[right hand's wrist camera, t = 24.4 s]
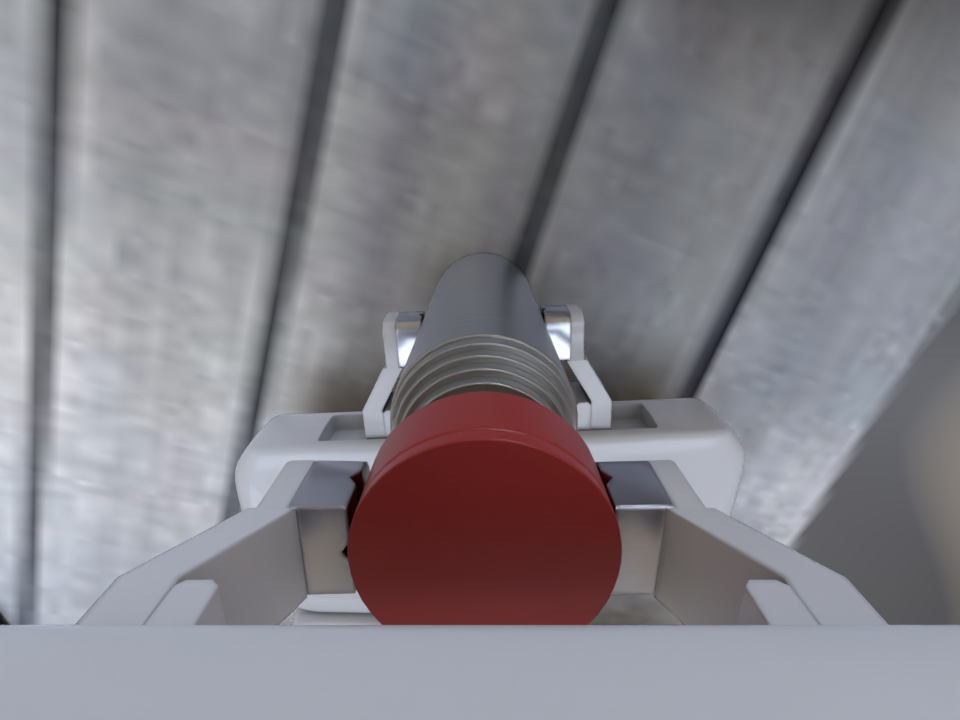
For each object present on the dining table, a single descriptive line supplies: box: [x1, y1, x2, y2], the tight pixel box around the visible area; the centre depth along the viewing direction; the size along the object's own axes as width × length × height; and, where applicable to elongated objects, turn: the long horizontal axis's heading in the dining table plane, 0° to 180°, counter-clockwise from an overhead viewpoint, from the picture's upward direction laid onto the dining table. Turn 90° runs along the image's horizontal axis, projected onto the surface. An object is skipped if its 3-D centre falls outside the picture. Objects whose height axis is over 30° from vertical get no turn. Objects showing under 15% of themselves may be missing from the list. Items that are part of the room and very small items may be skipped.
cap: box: [347, 392, 622, 625], centre depth 9 cm, size 4×4×2 cm
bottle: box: [390, 253, 578, 432], centre depth 17 cm, size 5×5×17 cm
